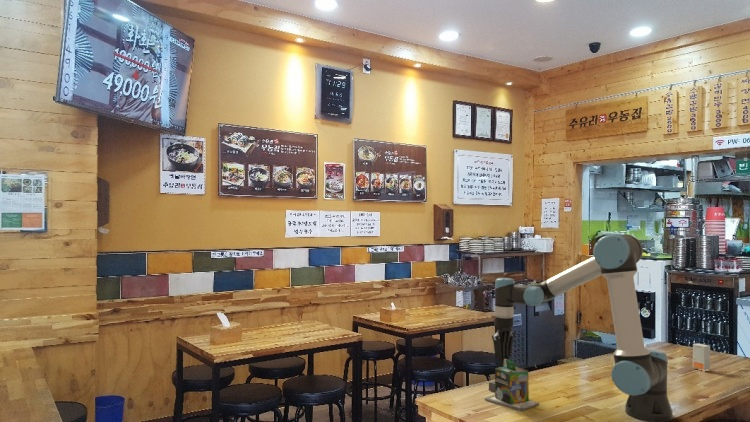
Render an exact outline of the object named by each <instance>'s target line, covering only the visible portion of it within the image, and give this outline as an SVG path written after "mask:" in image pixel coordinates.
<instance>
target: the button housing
mask: <svg viewBox="0 0 750 422" xmlns="http://www.w3.org/2000/svg"><path fill="white" fill-rule="evenodd" d="M488 390H489V391H491V392H494V393H495V380H493V381H492V380H491V381H490V382H488Z"/></svg>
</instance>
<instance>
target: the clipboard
mask: <svg viewBox="0 0 750 422" xmlns="http://www.w3.org/2000/svg"><path fill="white" fill-rule="evenodd" d="M484 401H487V402H490V403H493V404H497V405H499V406H503V407H506V408H509V409H513V410H516V411H519V412H523V411H525V410H529V409H530V408H534V407H536V406H539V405H540V402H537V401H534V400H530V399H529V401H526V402H520V403H515V404H508V403H506V402H504V401H502V400H500V399H498V398H495V394H494V395H492V396H487V397H485V398H484Z"/></svg>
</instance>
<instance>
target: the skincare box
mask: <svg viewBox="0 0 750 422" xmlns="http://www.w3.org/2000/svg"><path fill="white" fill-rule="evenodd" d="M693 367H694V368H698V369H703V370H706V369H710V370H711V346H710V345H708V344H703V343H698V342H697V343H693V344H692V368H693Z"/></svg>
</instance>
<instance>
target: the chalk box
mask: <svg viewBox="0 0 750 422" xmlns="http://www.w3.org/2000/svg"><path fill="white" fill-rule="evenodd" d="M506 364H507V366H506V367H500V368H499V367H496V368H494V369H495V370H494V377H495V378H494V379H495V380H494V381H495V392H494V395H495V398H498V399H500V400H502V401H504V402H506V403H508V404H515V403H520V402H526V401H529V400H530V399H529V398H530V397H529V396H530V395H529V394H530V392H529V370H528V369H525V368H521V367H518V366H515V365H516V364H515V362H514V361H512V360H510V359H507V360H506Z"/></svg>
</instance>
